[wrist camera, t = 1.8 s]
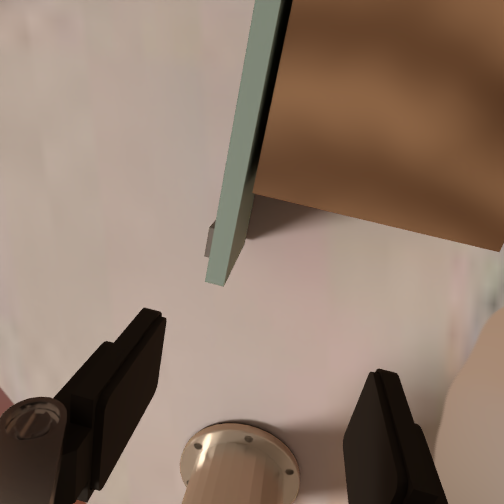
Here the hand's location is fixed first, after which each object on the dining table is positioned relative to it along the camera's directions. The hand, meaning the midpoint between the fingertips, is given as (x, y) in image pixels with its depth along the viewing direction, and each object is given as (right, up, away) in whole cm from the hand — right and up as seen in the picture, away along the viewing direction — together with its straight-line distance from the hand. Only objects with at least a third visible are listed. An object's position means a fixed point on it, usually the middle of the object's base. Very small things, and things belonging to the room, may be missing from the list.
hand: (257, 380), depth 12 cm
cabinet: (+9, +16, +14) cm, 23 cm away
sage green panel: (+1, +15, +15) cm, 21 cm away
